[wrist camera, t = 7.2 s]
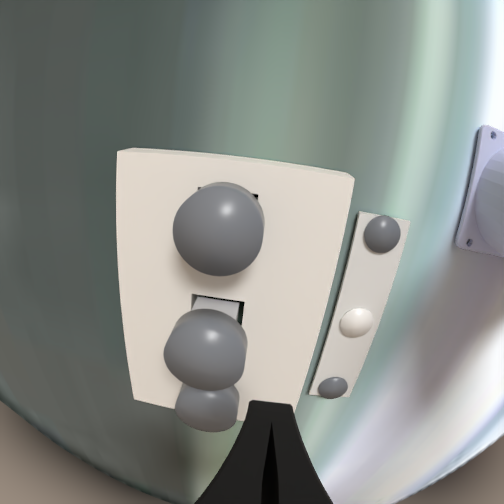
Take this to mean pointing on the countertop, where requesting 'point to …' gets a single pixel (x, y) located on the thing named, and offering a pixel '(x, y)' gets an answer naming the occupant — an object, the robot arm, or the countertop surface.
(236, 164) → the board
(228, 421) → the button
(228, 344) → the button
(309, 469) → the robot arm
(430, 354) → the countertop surface
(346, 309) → the card
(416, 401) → the countertop surface
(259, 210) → the button
